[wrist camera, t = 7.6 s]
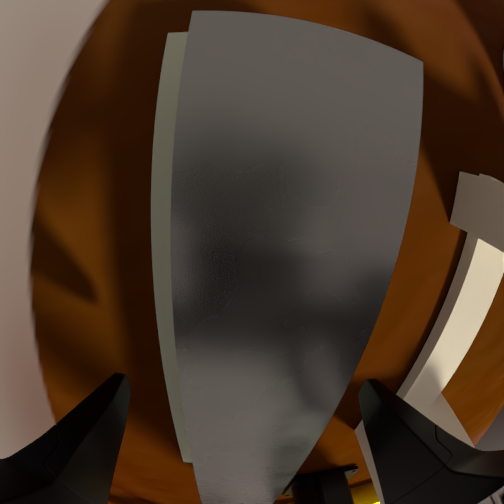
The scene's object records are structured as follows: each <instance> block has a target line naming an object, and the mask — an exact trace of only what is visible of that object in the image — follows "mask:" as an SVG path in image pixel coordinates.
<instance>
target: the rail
mask: <svg viewBox="0 0 504 504" xmlns="http://www.w3.org/2000/svg"><path fill="white" fill-rule="evenodd" d="M422 107H423V62H422V61H420V60H418V59H416V58H414V57H412V56H410V55H407V54H405V53H403V52H401V51H398V50H396V49H394V48H391V47H389V46H387V45H384V44H381V43H379V42H376V41H374V40H371V39H368V38H365V37H362V36H359V35H356V34H353V33H350V32H347V31H343V30H340V29H337V28H333V27H329V26H325V25H321V24H317V23H313V22H308V21H304V20H299V19H293V18H288V17H281V16H275V15H267V14H259V13H249V12H235V11H192V16H191V20H190V25H189V30H188V36H187V41H186V47H185V53H184V59H183V66H182V72H181V79H180V87H179V95H178V104H177V113H176V123H175V134H174V147H173V162H172V182H171V218H170V251H171V287H172V307H173V323H174V336H175V347H176V357H177V367H178V376H179V384H180V392H181V399H182V406H183V413H184V419H185V425H186V431H187V437H188V443H189V448H190V453H191V458H192V463H193V468H194V472H195V477H196V481H197V486H198V490H199V494H200V498H201V502H202V504H273V503H274V502H275V500H276V499H277V498H278V497H279V495H280V494H281V493H282V491H283V490H284V489H285V488H286V486H287V485H288V484H289V482H290V481H291V479H292V478H293V477H294V475H295V474H296V472H297V471H298V470H299V468H300V467H301V465H302V464H303V462H304V461H305V459H306V458H307V456H308V455H309V453H310V452H311V450H312V449H313V447H314V446H315V444H316V442H317V441H318V439H319V437H320V436H321V434H322V432H323V431H324V429H325V427H326V426H327V424H328V422H329V420H330V419H331V417H332V415H333V413H334V412H335V410H336V408H337V406H338V404H339V402H340V400H341V398H342V397H343V395H344V393H345V391H346V389H347V387H348V385H349V383H350V381H351V379H352V376H353V374H354V372H355V370H356V368H357V366H358V364H359V361H360V359H361V357H362V355H363V352H364V350H365V348H366V345H367V343H368V341H369V338H370V336H371V333H372V331H373V328H374V326H375V323H376V320H377V318H378V315H379V312H380V310H381V307H382V304H383V301H384V298H385V295H386V292H387V289H388V286H389V283H390V280H391V277H392V274H393V270H394V267H395V264H396V260H397V257H398V253H399V249H400V246H401V242H402V238H403V234H404V230H405V225H406V221H407V217H408V212H409V207H410V202H411V197H412V192H413V186H414V180H415V174H416V168H417V161H418V153H419V144H420V135H421V123H422Z"/></svg>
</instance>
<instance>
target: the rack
mask: <svg viewBox="0 0 504 504" xmlns="http://www.w3.org/2000/svg"><path fill="white" fill-rule="evenodd" d="M450 224H452V225H454V226H456V227H458V228H460V229H462V230H464V231H466V232H468V233H467V237H466V241H465V244H464V248H463V251H462V254H461V258H460V261H459V264H458V267H457V270H456V273H455V276H454V278H453V281H452V284H451V286H450V289H449V292H448V294H447V297H446V299H445V302H444V304H443V307H442V309H441V311H440V313H439V316H438V318H437V320H436V322H435V325H434V327H433V329H432V331H431V333H430V335H429V337H428V339H427V341H426V343H425V345H424V347H423V349H422V351H421V353H420V355H419V356H418V358H417V360H416V362H415V364H414V365H413V367H412V369H411V371H410V372H409V374H408V376H407V377H406V379H405V381H404V382H403V384H402V385H401V387H400V389H399V390H398V392H397V393H396V394H397V395H398V396H399V397H400V398H402V399H403V400H404V401H406V402H407V403H408V404H410V405H411V406H412V407H414V408H415V409H416V410H418V411H419V412H420V413H422V414H423V415H424V416H426V417H427V418H428V419H430V420H431V421H432V422H434V423H435V424H437V425H438V426H439V427H441V428H442V429H444V430H445V431H446V432H448V433H449V434H451V435H453V436H454V437H456V438H457V439H459V440H461V441H463V442H465V443H466V444H468V445H470V446H472V447H473V448H475V447H474V445H473V444H472V442H471V440H470V438H469V437H468V435H467V433H466V432H465V430H464V428H463V427H462V425H461V423H460V422H459V420H458V418H457V417H456V415H455V414H454V412H453V410H452V409H451V407H450V406H449V404H448V403H447V401H446V400H445V398H444V396H443V395H442V393H441V391H442V390H443V389H444V387H445V386H446V384H447V383H448V381H449V380H450V378H451V377H452V375H453V374H454V372H455V371H456V369H457V367H458V366H459V364H460V363H461V361H462V359H463V358H464V356H465V354H466V353H467V351H468V349H469V347H470V346H471V344H472V342H473V340H474V338H475V336H476V334H477V332H478V331H479V329H480V327H481V325H482V323H483V320H484V318H485V316H486V314H487V312H488V310H489V308H490V305H491V303H492V301H493V298H494V296H495V294H496V291H497V289H498V286H499V283H500V281H501V278H502V275H503V273H504V183H502V182H501V181H499V180H497V179H495V178H493V177H491V176H488V175H484V174H479V176H476V175H473V174H469V173H465V172H461V171H460V172H459V179H458V185H457V190H456V196H455V201H454V206H453V210H452V215H451V219H450ZM354 431H355V433H356V436H357V439H358V442H359V444H360V447H361V450H362V453H363V456H364V458H365V461H366V464H367V467H368V470H369V473H370V476H371V479H372V481H373V484H374V487H375V490H376V493H377V496H378V499H379V502H380V504H385V503H384V499H383V495H382V491H381V487H380V483H379V479H378V475H377V472H376V468H375V464H374V461H373V457H372V454H371V450H370V447H369V443H368V440H367V436H366V433H365V429H364V425H363V420H361V422H360V423H359V425H358V426H357V428H356V429H355V430H354Z"/></svg>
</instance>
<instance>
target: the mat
mask: <svg viewBox="0 0 504 504" xmlns="http://www.w3.org/2000/svg"><path fill="white" fill-rule="evenodd" d="M187 36H188V32H175V33H168V35H167V40H166V45H165V51H164V57H163V62H162V69H161V75H160V82H159V90H158V98H157V106H156V116H155V127H154V139H153V154H152V176H151V246H152V268H153V283H154V296H155V308H156V317H157V327H158V335H159V343H160V350H161V357H162V364H163V370H164V376H165V382H166V388H167V393H168V398H169V404H170V408H171V413H172V418H173V422H174V427H175V431H176V435H177V440H178V444H179V447H180V451H181V455H182V459H183V462H190V463H192V458H191V453H190V448H189V443H188V437H187V431H186V425H185V419H184V413H183V406H182V399H181V392H180V384H179V376H178V367H177V357H176V347H175V336H174V323H173V307H172V287H171V251H170V218H171V182H172V162H173V147H174V134H175V123H176V113H177V104H178V95H179V87H180V79H181V72H182V66H183V59H184V53H185V47H186V41H187Z"/></svg>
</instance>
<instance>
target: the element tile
mask: <svg viewBox="0 0 504 504" xmlns="http://www.w3.org/2000/svg"><path fill="white" fill-rule="evenodd" d="M350 490H351V494H352V497H353V501H354V504H380V502H379V499H378V496H377V493H376V490H375V487H374V484H373V482H370V483H367V484H364V485H361V486H358V487H354V488H351V489H350ZM286 504H294V502H290V503H286Z"/></svg>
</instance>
